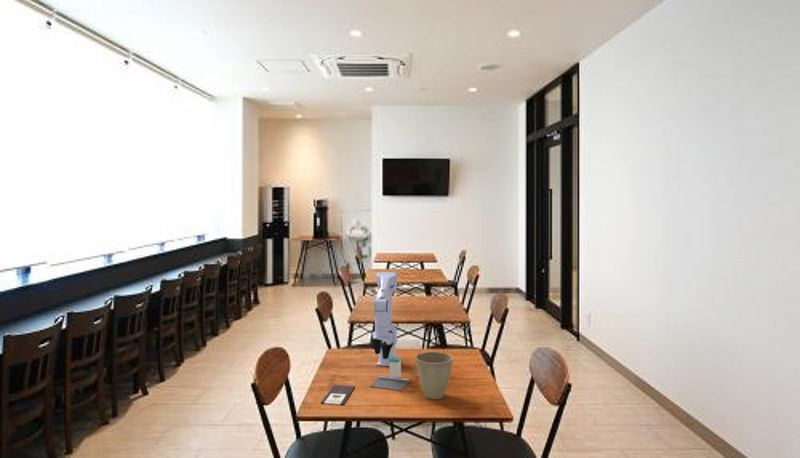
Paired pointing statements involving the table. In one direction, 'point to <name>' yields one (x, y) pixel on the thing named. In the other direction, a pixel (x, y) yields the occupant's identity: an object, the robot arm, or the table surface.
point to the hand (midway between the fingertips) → (381, 356)
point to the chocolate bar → (338, 395)
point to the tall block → (395, 367)
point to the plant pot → (434, 373)
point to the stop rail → (393, 378)
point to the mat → (389, 384)
